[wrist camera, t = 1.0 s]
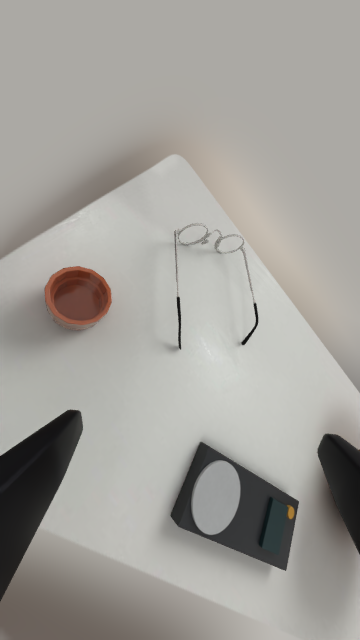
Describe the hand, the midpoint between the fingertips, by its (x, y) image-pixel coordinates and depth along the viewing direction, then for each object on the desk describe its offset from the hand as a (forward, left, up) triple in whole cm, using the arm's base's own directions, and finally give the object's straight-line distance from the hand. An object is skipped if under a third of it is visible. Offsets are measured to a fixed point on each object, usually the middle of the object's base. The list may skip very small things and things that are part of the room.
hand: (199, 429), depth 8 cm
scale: (+7, -27, -20) cm, 34 cm away
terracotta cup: (+2, +10, -20) cm, 22 cm away
